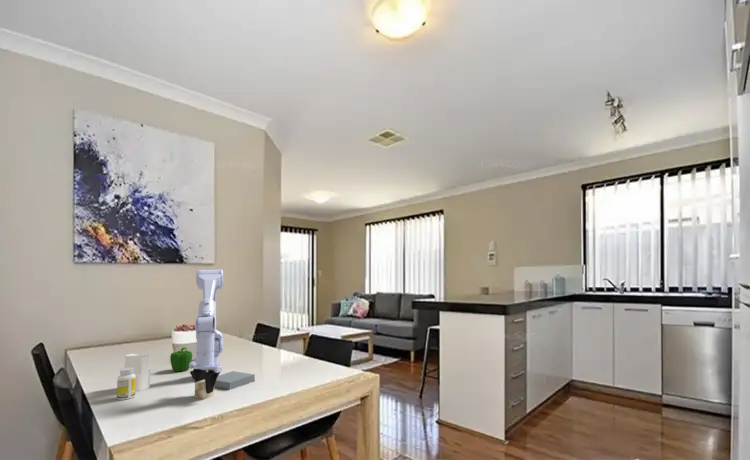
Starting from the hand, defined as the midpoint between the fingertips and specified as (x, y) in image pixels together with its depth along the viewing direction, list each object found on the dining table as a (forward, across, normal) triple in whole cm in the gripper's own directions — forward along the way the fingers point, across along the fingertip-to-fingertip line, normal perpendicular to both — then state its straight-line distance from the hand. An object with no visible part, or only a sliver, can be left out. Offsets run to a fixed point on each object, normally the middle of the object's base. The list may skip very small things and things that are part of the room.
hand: (204, 391), depth 138 cm
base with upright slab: (+2, -32, -5) cm, 32 cm away
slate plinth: (+2, -4, +15) cm, 16 cm away
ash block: (+2, 0, 0) cm, 2 cm away
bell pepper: (+2, -40, +19) cm, 44 cm away
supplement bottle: (+2, -24, -13) cm, 27 cm away
